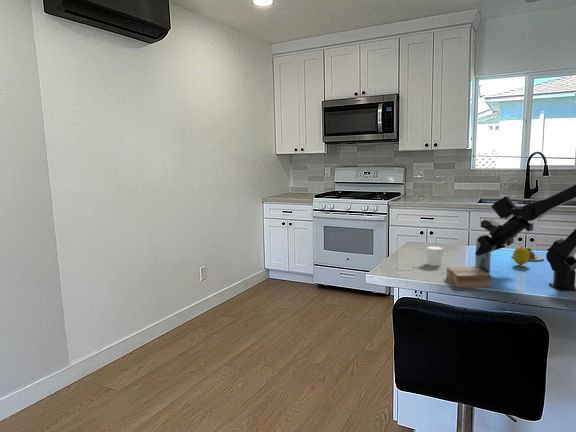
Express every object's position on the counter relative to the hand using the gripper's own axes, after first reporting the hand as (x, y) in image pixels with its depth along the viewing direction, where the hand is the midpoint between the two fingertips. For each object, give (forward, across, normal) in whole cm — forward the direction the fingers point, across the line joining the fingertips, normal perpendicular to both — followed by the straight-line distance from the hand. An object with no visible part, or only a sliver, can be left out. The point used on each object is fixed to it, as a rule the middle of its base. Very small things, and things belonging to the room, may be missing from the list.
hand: (479, 253), depth 162 cm
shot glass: (+17, +4, -7) cm, 19 cm away
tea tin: (+4, 0, +6) cm, 7 cm away
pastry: (+2, -33, +9) cm, 34 cm away
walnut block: (+1, +18, +8) cm, 19 cm away
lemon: (-1, -18, +10) cm, 21 cm away
